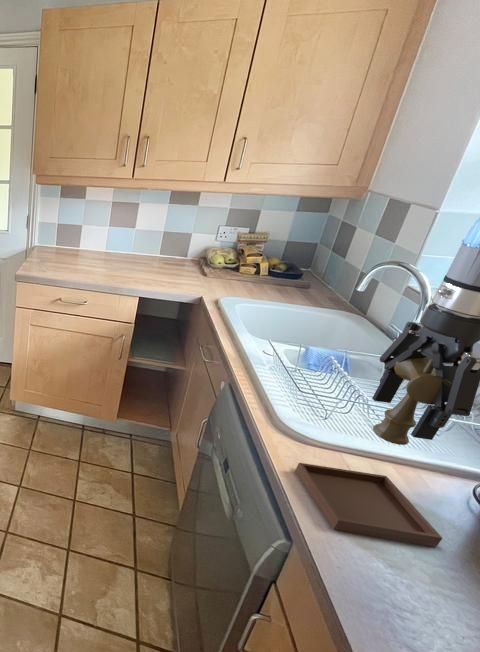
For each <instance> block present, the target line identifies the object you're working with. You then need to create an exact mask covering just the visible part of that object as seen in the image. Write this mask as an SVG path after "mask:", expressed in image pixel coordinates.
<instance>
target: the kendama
mask: <svg viewBox="0 0 480 652" xmlns="http://www.w3.org/2000/svg"><path fill="white" fill-rule="evenodd" d="M395 364H396V365H395V366H394V369H395V372H396V374H397V375H398V376H400V377H401V378H403V380H405V381H408V382H407V385H406V389H405V390H406V393H405V395H404V397H403V398H402V399H401V400H400V401H399V402H398V403H397V404H396V405H395V406H394V407H393V408H391V409H389V408H388V409H386V410H385V411H384V418H383V420H382V421H381V422H380V423H376V424H374V425H373V427H372V430H373V432H374V434H375V435H376V436H378V437H379V438H380V439H382V440H383V441H386V442H388V443H391V444H394V445H399V446H406V445H408V444H409V442H410V441H409V440H410V439H409V436H408V433H409V431H410V429H411V428H415V426H416V425H417V421H416V420H415V413H416V409H417V406H418V403H421V404H425V405H434V403H435V394H436V393H437V391H438V389H439V388H440V385H441V383H442V378H441V377H439V376H436V369H434V368H433V361H432V360H431V359H430V358H429V357H428V356H427V357H425V358H413V359H408V360H404V361H402V362H400V363H399V362H397V361H396V363H395ZM443 382H444V383H445V384H446V385H447V386H448V387H450V388H451V387H452V383H450V382H449V381H448V380H445V379H443Z"/></svg>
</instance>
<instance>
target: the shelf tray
mask: <svg viewBox="0 0 480 652" xmlns="http://www.w3.org/2000/svg"><path fill="white" fill-rule="evenodd" d="M294 472H295V473H296V475H297V477H298V478H299V479H300V481H301V482H302V485H304V487H305V489H306V491H307V492H308V493H309V495H310V496H311V498H312V499H313V501H314V502H315V504H316V505H317V507H318V508H319V510H320V511H321V513H322V515H323V516H324V518H325V519H326V521H327V522H328V524H329V526H331V528H332V529H333V530H334V531H340V532H346V533H352V534H358V535H362V536H363V535H364V536H369V537H373V538H374V537H375V538H380V539H386V540H392V541H396V542H397V541H398V542H404V543H409V544H415V545H420V546H424V547H425V546H426V547H431V548H437V547H438V545H439V544H440V543H441V541H442V540H443V537H442V536H441V535H440V533H439V532H438V531H437V530H436V529H435V527H434V526H433V525H431V523H430V522H429V521H428V520H427V519H426V518H425V517H424V516H423V514H422V513H421V512H420V511H419V510H418V509H417V508H416V507H415V506H414V504H413V503H411V502H410V500H409V499H408V498H407V497H406V496H405V495H404V494H403V493H402V491H401V490H400V489H399V488H398V487H397V486H396V485H395V483H393V482H392V480H391V479H390V478H389V477H388V476H387V475H383V474H376V473H369V472H363V471H356V470H350V469H343V468H338V467H337V468H336V467H331V466H323V465H317V464H312V463H303V462H298V464H297V465H296V467H295V470H294Z"/></svg>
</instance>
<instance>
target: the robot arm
mask: <svg viewBox="0 0 480 652" xmlns="http://www.w3.org/2000/svg"><path fill="white" fill-rule="evenodd" d="M431 301H432V302H433V303H432V304H429V305H428V306H427V307H426V309H425V311H424V313H423V315H422V317H421V318H420V322H416V321H415V322H414V321H407V322H406V323H405V325H404V328H403V330H402V332H401V333H400V334H399V336H397V338H395V340H394V341H393V342H392V343H391V344H390V345H389V346H388V347H387V349H386V350H385V351H384V352H383V354H382V355H381V356H380V357H379V362H380V363H383V364H384V365H383V367H384V369H385V370H384V372H383V373H382V375H381V377H380V379H379V385H378V386H377V388H376V390H375V392H374V394H373V396H372V397H371V399H372V401H374V402H379V403H385V404H391V403H392V401H393V400H394V398H395V395H396V393H397V392H398V390H399V388H400V386H401V385H402V383H403V382H404V379H403V378H401V377H400V376H398V375H397V374H396V372H395V369H394V366H395V365H396V364H395V363H396V361H397V362H399V363H400V362H402V361H404V360H408V359H413V358H425V357H427V356H428V357H429V358H430V359H431V360H432V361H433V368H434V369H436V376H439V377H441V378H442V383H441V385H440V388H439V389H438V391H437V393H436V394H435V403H434V405H430V404H427V406H426V408H425V410H424V411H423V413H422V414H421V417H420V418H419V420H418V421H417V422H416V426H414V427H413V430H412V431H411V433H410V435H411V437H413V438H415V439H422V440H429V441H432V440H434V438H435V436H436V434H437V433H438V431H439V430H440V428H441V429H442V428H444V427H445V426H446V425H447V423H448V421H449V420H450V419H451V417H452V415H454V416H460V417H469V416H470V415H471V413H472V408H473V405H474V402H475V400H476V395H477V392H478V389H479V386H480V357H478V355H476V354H475V353H473V352H474V345H475V344H477V343H478V342H480V217H478V218H477V219H476V220H475V222H474V223H473V225H472V226H471V227H470V229H469V230H468V232H467V233H466V235H465V237H464V238H463V239H462V241H461V244H460V246H459V248H458V250H457V252H456V254H455V256H454V258H453V260H452V262H451V264H450V266H449V268H448V270H447V271H446V274H445V275H444V277H443V279H442V281H441V283H440V285H439V287H438V288H437V290H436V291H435V294H434V296H433V298H432V300H431ZM443 379H445V380H448V381H449V382H450V383H452V387H451V388H450V387H448V386H447V385H446V384H445V383H444V382H443Z"/></svg>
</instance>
